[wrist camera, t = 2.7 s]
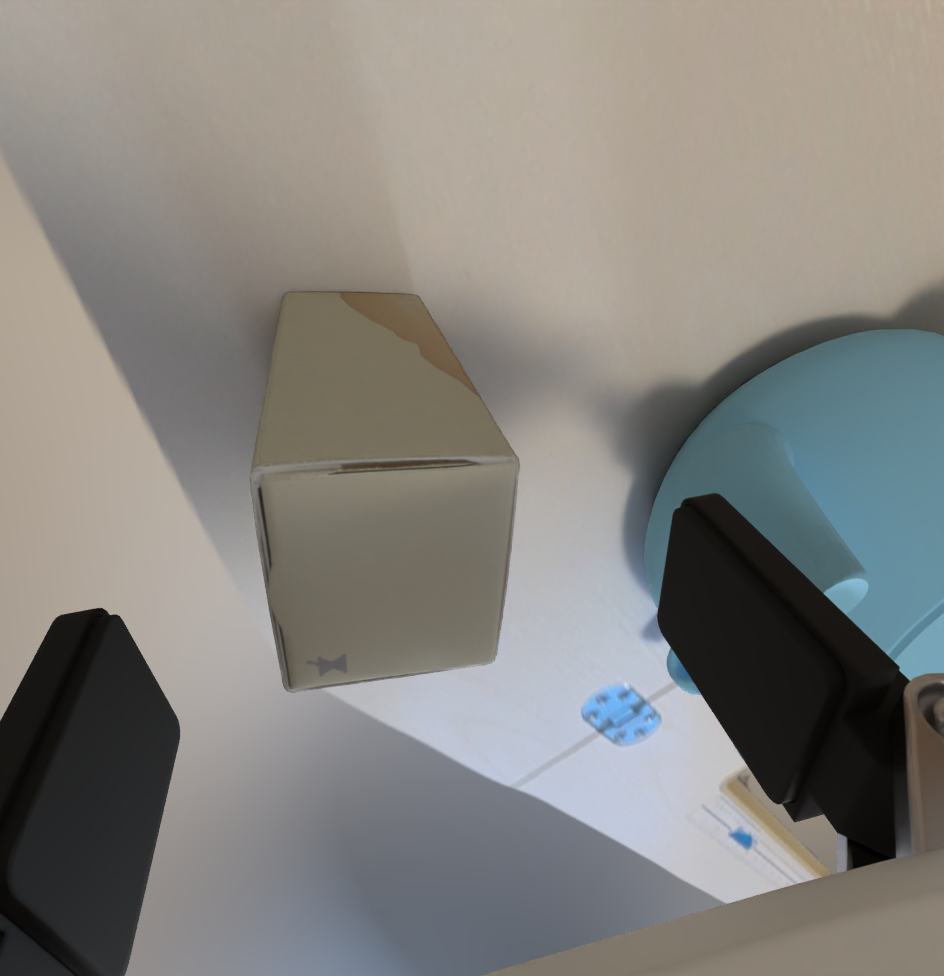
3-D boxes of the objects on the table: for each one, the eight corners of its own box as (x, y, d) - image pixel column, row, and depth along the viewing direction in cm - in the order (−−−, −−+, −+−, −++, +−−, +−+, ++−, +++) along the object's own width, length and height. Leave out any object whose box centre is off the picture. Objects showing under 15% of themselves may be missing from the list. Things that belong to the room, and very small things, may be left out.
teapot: (1010, 204, 22) (1613, 288, 12) (930, 553, 32) (1208, 753, 22) (581, 375, 21) (822, 611, 11) (645, 670, 32) (796, 925, 22)
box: (417, 433, 21) (498, 679, 12) (293, 439, 20) (279, 710, 11) (421, 284, 18) (529, 457, 9) (277, 281, 17) (241, 472, 8)
